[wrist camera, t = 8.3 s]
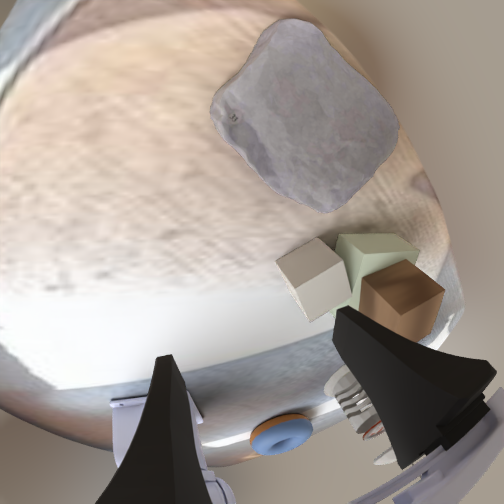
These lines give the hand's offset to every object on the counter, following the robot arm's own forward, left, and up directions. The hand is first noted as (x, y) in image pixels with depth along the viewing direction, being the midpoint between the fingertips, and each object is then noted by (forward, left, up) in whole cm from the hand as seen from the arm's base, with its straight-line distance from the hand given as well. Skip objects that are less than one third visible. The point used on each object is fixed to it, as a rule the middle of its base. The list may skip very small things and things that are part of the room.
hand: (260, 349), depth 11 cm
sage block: (+13, -6, -11) cm, 18 cm away
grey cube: (+7, -4, -10) cm, 13 cm away
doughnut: (+4, -34, -11) cm, 36 cm away
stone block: (+7, +8, -11) cm, 15 cm away
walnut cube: (+13, -6, -7) cm, 16 cm away
